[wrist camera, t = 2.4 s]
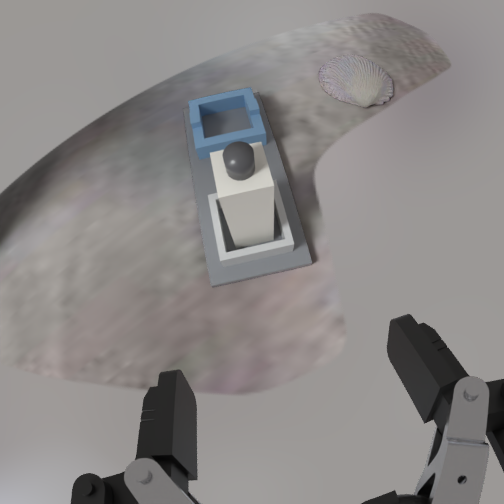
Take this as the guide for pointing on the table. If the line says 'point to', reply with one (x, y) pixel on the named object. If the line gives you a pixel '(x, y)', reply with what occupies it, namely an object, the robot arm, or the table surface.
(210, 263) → the socket
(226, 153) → the white knobbed square peg
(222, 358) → the table surface
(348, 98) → the seashell
